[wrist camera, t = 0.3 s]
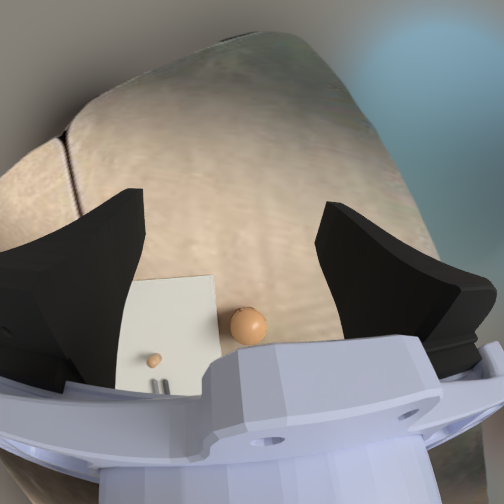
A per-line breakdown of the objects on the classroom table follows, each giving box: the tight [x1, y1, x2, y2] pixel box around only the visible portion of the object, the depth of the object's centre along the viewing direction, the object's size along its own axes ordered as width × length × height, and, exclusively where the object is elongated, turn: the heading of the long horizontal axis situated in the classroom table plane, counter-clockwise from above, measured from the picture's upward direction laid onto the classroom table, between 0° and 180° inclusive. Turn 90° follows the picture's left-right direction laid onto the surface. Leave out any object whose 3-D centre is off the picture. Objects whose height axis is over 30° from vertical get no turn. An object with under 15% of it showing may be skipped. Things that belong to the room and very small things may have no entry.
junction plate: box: [115, 275, 222, 396], centre depth 36 cm, size 22×18×4 cm
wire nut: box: [230, 307, 267, 345], centre depth 37 cm, size 4×4×4 cm
